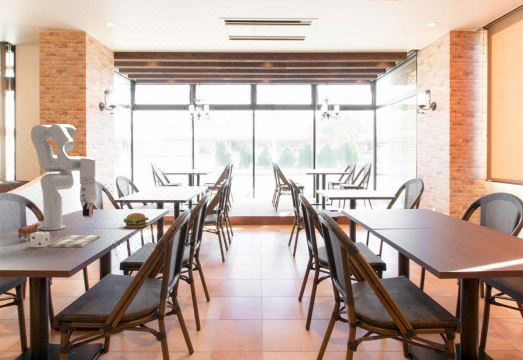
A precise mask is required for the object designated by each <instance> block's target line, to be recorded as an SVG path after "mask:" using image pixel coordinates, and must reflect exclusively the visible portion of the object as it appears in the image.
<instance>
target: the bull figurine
mask: <svg viewBox="0 0 523 360" xmlns="http://www.w3.org/2000/svg"><path fill="white" fill-rule="evenodd" d="M42 227H43V226H42V225H41V223H39V222H38V221H37V222H34V223H32V224H29V225H27V226H22V227H20V228H18V230H17V232H18V237H17V238H18V241H19V242H22V240H21V238H22V239H23V240H25V241H27V242H30V240H29V239H28V237H29V236H30V234H32V233H35V232H38V230H39V229H41V228H42Z"/></svg>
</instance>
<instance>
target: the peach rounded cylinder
mask: <svg viewBox="0 0 523 360" xmlns="http://www.w3.org/2000/svg"><path fill="white" fill-rule="evenodd" d="M85 203H87V202H85ZM86 205H87V204H86ZM88 209H89V216H83V217H84V218H92V217H93V214H92V205H91V203H89V206H88Z"/></svg>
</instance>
